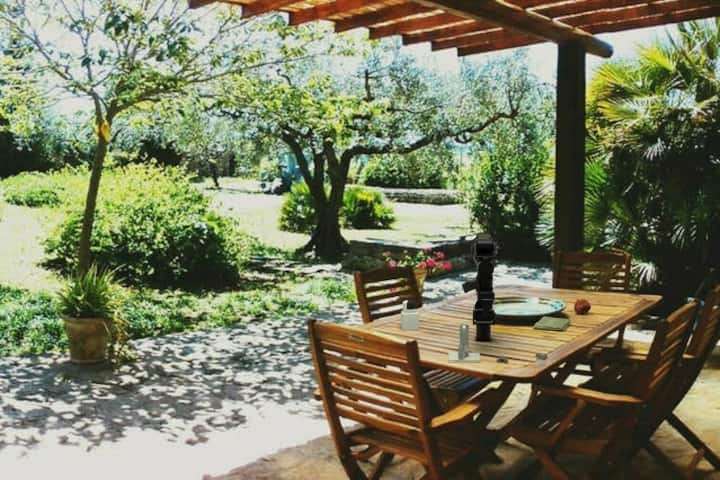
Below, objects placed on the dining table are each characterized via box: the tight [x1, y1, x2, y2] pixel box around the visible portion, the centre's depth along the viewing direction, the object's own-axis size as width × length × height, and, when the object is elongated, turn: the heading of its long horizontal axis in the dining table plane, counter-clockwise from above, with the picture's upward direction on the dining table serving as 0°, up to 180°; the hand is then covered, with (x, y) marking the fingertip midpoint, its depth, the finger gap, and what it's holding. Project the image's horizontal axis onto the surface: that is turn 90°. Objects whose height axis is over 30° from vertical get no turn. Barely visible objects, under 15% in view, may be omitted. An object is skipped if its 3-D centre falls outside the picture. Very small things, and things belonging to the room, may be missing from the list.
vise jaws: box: [496, 352, 548, 364], centre depth 253 cm, size 5×19×1 cm, turn 104°
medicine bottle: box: [400, 299, 420, 331], centre depth 308 cm, size 7×7×12 cm
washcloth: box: [532, 316, 571, 332], centre depth 306 cm, size 13×18×3 cm
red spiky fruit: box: [573, 298, 592, 317], centre depth 331 cm, size 7×7×10 cm
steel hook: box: [457, 324, 470, 360], centre depth 254 cm, size 7×3×11 cm, turn 158°
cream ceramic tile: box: [448, 351, 482, 363], centre depth 256 cm, size 11×11×1 cm
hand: (485, 314), depth 268 cm, fingers open, 9 cm apart
